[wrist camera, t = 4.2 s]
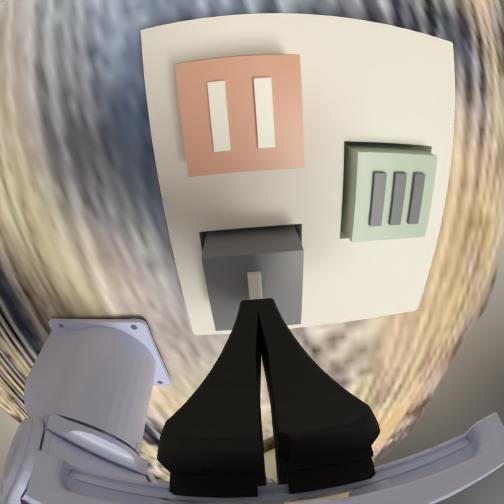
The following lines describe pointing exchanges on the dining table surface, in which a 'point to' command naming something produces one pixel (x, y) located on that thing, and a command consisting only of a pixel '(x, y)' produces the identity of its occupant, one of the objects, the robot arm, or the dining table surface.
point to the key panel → (308, 154)
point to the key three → (386, 190)
